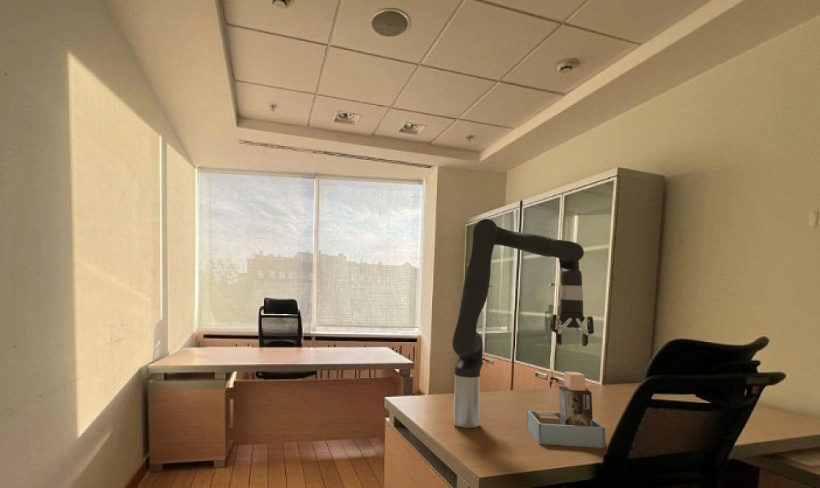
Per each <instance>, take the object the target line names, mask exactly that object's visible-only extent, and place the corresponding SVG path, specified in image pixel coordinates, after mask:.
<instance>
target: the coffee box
mask: <svg viewBox="0 0 820 488" xmlns="http://www.w3.org/2000/svg"><path fill="white" fill-rule="evenodd" d="M558 391H559V393H558V397H559V398H558V399H559V412H560V425H575V426H592V427H593V419H594V418H593V398H592V397H593V396H592V395H593V394H592V391H591V390H589V389H588V388H587V387H585V391H580V390H570V389H568V388H566V387H565V385H564V386H562V385H559V386H558Z"/></svg>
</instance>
